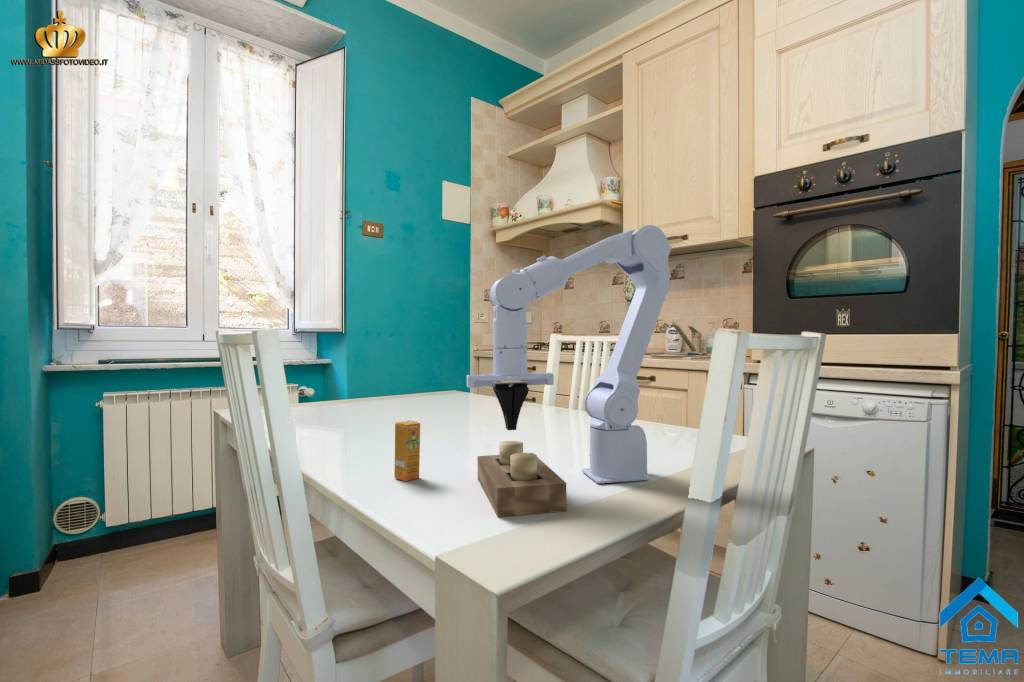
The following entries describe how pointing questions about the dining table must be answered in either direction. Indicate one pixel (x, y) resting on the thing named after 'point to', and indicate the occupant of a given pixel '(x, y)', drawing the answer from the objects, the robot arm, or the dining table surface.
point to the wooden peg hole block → (521, 489)
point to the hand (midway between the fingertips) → (510, 429)
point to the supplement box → (407, 450)
